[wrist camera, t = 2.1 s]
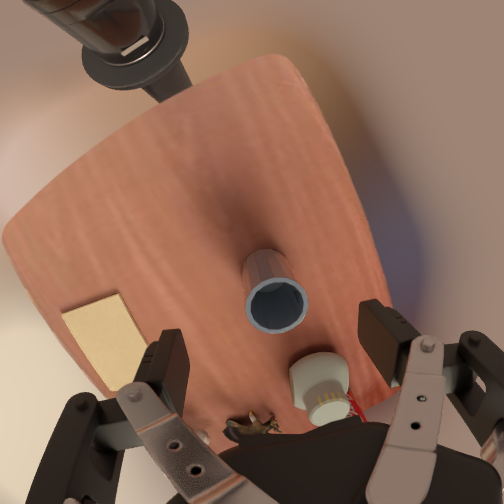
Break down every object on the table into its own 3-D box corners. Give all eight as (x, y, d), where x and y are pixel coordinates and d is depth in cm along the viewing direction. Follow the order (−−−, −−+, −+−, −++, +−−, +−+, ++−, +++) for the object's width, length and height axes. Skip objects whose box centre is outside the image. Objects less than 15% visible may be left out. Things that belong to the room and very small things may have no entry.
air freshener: (286, 348, 41) (300, 394, 32) (339, 338, 42) (363, 379, 32) (290, 398, 45) (301, 442, 35) (336, 388, 45) (354, 429, 35)
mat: (62, 313, 38) (60, 314, 37) (119, 292, 37) (118, 294, 37) (112, 389, 42) (111, 391, 42) (169, 377, 42) (168, 380, 41)
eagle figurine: (268, 400, 43) (217, 419, 42) (285, 437, 38) (232, 456, 37) (270, 407, 49) (225, 424, 47) (285, 439, 44) (239, 456, 43)
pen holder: (235, 258, 37) (236, 290, 27) (281, 241, 37) (298, 268, 27) (251, 299, 39) (257, 341, 29) (295, 284, 39) (314, 321, 29)
